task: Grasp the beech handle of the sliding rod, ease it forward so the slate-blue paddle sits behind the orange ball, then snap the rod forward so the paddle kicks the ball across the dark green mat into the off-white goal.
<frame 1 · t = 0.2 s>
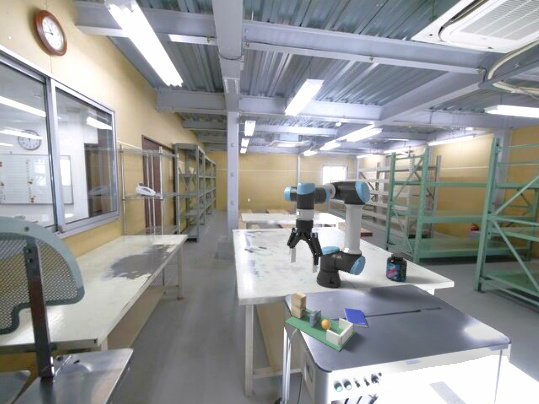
hand: (302, 267, 100), 27 cm above the table, fingers open, 13 cm apart
ball: (326, 324, 99), point 2 cm above the table, touching pitch mat
rod slider: (305, 307, 106), point 6 cm above the table, slide at 0.0 cm
pitch mat: (319, 326, 101), on the table
goal: (339, 337, 95), resting on pitch mat
blue flat square slab: (355, 319, 109), on the table
container: (395, 279, 156), on the table
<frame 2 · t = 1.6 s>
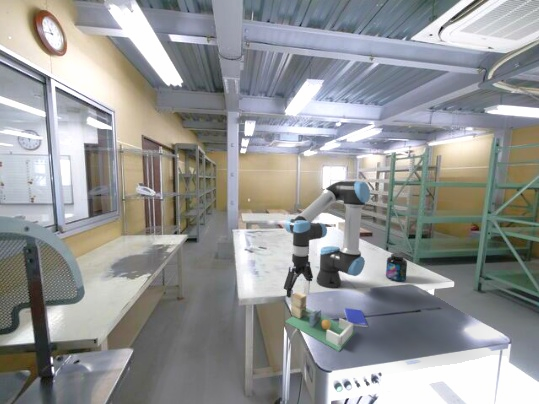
hand: (298, 298, 108), 9 cm above the table, fingers open, 13 cm apart
nothing on the table moved.
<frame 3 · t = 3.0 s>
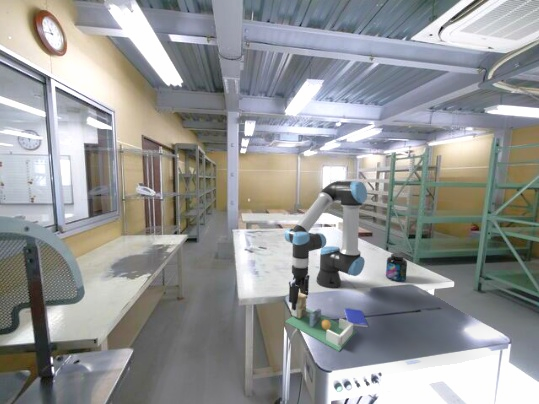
hand: (298, 313, 109), 2 cm above the table, fingers closed on rod slider, 5 cm apart
rod slider: (305, 307, 106), point 6 cm above the table, slide at 0.0 cm, touching gripper
everything else where it was.
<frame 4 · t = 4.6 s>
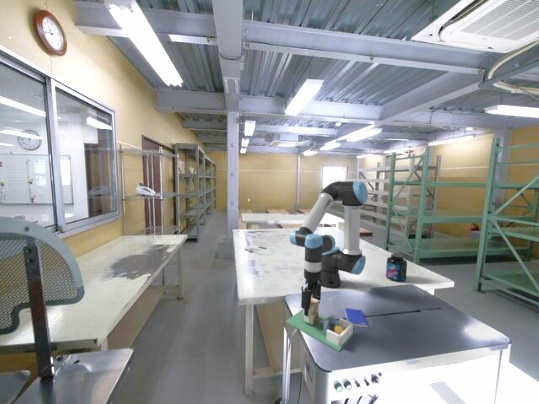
hand: (310, 319, 104), 2 cm above the table, fingers closed on rod slider, 5 cm apart
ball: (338, 330, 95), point 2 cm above the table, tilted 152°, touching pitch mat
rod slider: (318, 313, 101), point 6 cm above the table, slide at 6.7 cm, touching gripper
everything else where it was.
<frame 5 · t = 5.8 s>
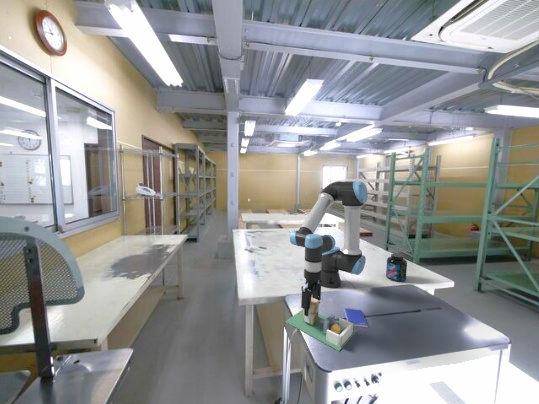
hand: (310, 319, 104), 2 cm above the table, fingers closed on rod slider, 5 cm apart
ball: (335, 329, 96), point 2 cm above the table, tilted 109°, touching pitch mat
rod slider: (318, 313, 101), point 6 cm above the table, slide at 6.7 cm, touching gripper
everything else where it was.
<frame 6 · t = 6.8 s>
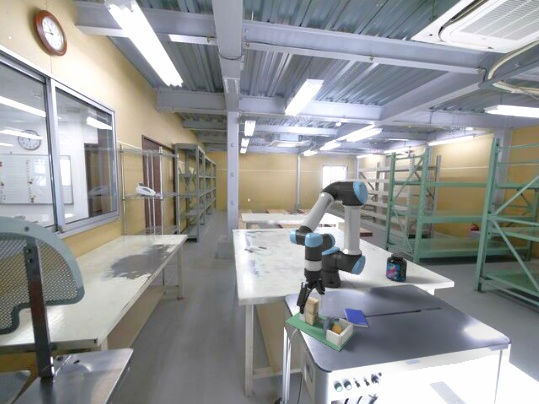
hand: (311, 313, 104), 4 cm above the table, fingers open, 13 cm apart
ball: (336, 330, 96), point 2 cm above the table, tilted 128°, touching pitch mat
rod slider: (318, 313, 101), point 6 cm above the table, slide at 6.7 cm
everything else where it was.
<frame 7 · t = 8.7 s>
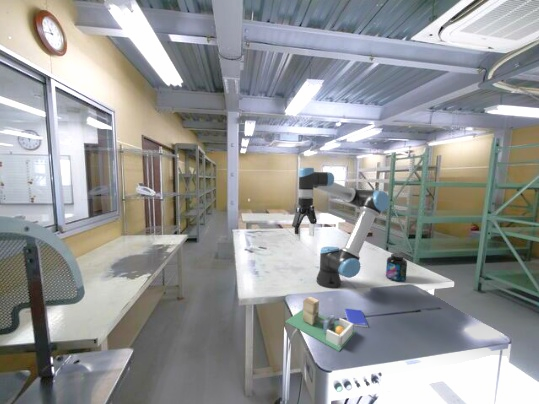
hand: (304, 237, 121), 34 cm above the table, fingers open, 13 cm apart
ball: (339, 331, 95), point 2 cm above the table, tilted 165°, touching pitch mat
everything else where it was.
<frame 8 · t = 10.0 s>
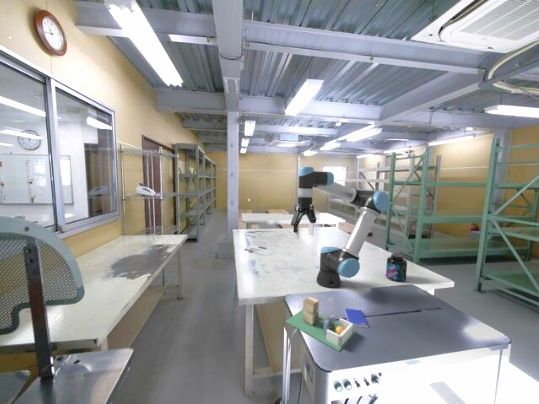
hand: (303, 236, 122), 35 cm above the table, fingers open, 13 cm apart
nothing on the table moved.
at the end: ball inside the target area (0.0 cm from its centre), point 2.4 cm above the table; rod slider slide at 6.7 cm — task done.
